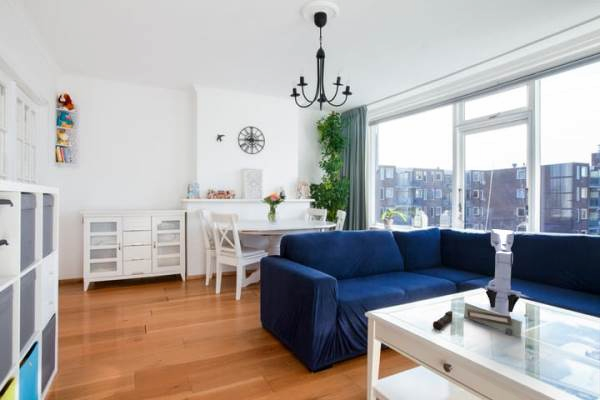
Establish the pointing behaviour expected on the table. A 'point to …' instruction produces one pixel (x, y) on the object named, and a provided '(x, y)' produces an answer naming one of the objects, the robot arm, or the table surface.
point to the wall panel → (508, 330)
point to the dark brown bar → (443, 321)
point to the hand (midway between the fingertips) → (501, 309)
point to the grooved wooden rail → (489, 317)
